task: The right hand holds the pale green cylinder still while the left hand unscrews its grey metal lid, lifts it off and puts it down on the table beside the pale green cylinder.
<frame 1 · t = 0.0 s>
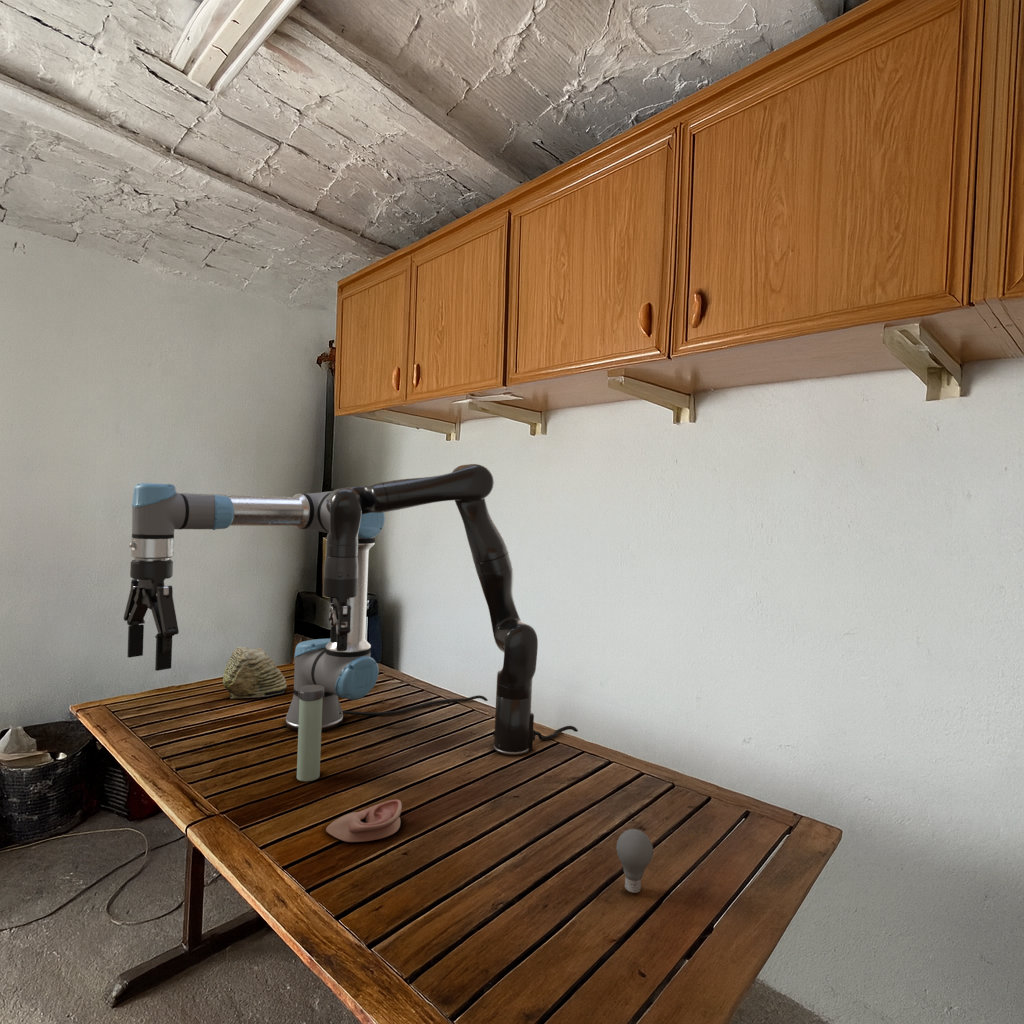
left hand: (148, 662, 129), 28 cm above the table, tool pointing down, fingers open, 13 cm apart
right hand: (338, 646, 145), 29 cm above the table, tool pointing down, fingers open, 8 cm apart
pale green cylinder: (308, 776, 143), on the table
lid: (311, 689, 143), point 20 cm above the table, screwed on, not yet turned
fossil: (254, 694, 198), on the table
light bulb: (632, 891, 106), on the table
anatomical model: (364, 828, 122), on the table
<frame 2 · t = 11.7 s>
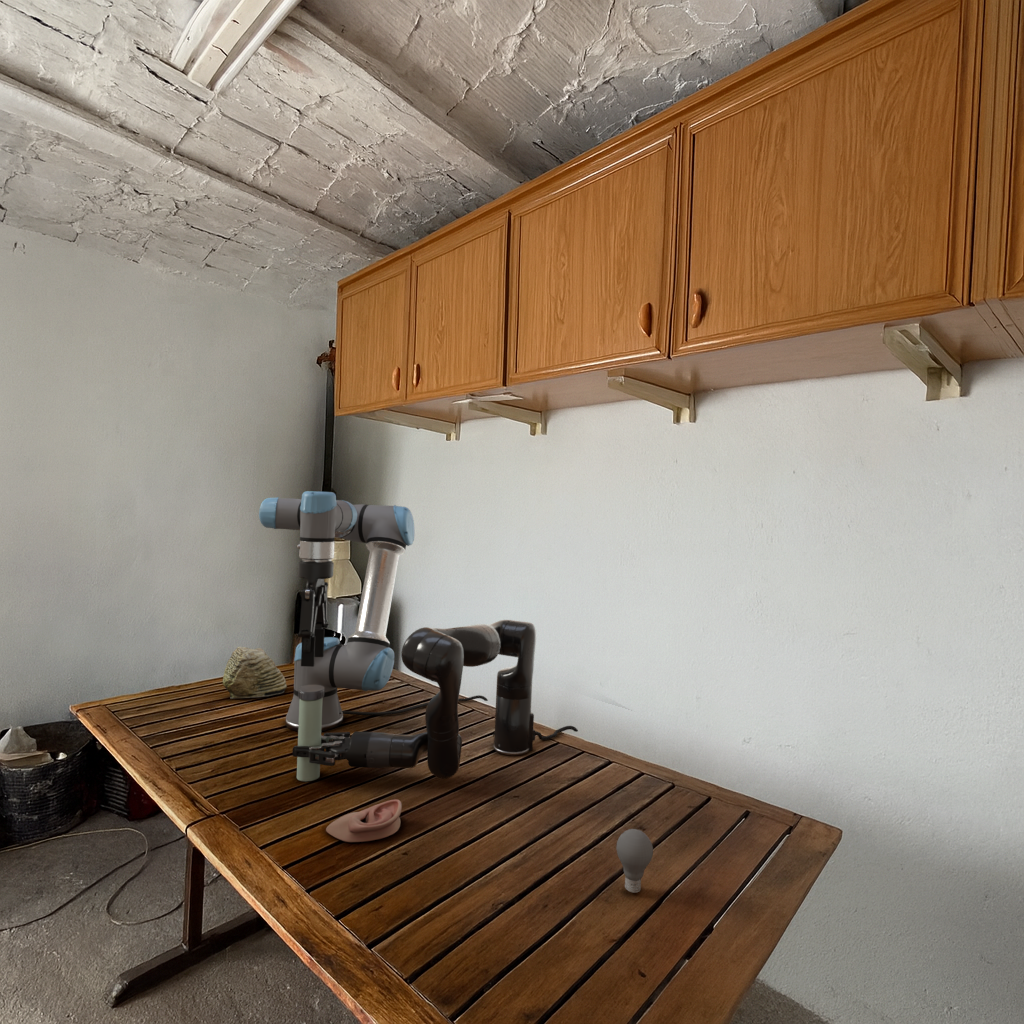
left hand: (312, 661, 143), 26 cm above the table, tool pointing down, fingers open, 7 cm apart
right hand: (297, 746, 143), 7 cm above the table, tool horizontal, fingers closed on pale green cylinder, 5 cm apart
pale green cylinder: (308, 776, 143), on the table, touching right hand
everything else where it was.
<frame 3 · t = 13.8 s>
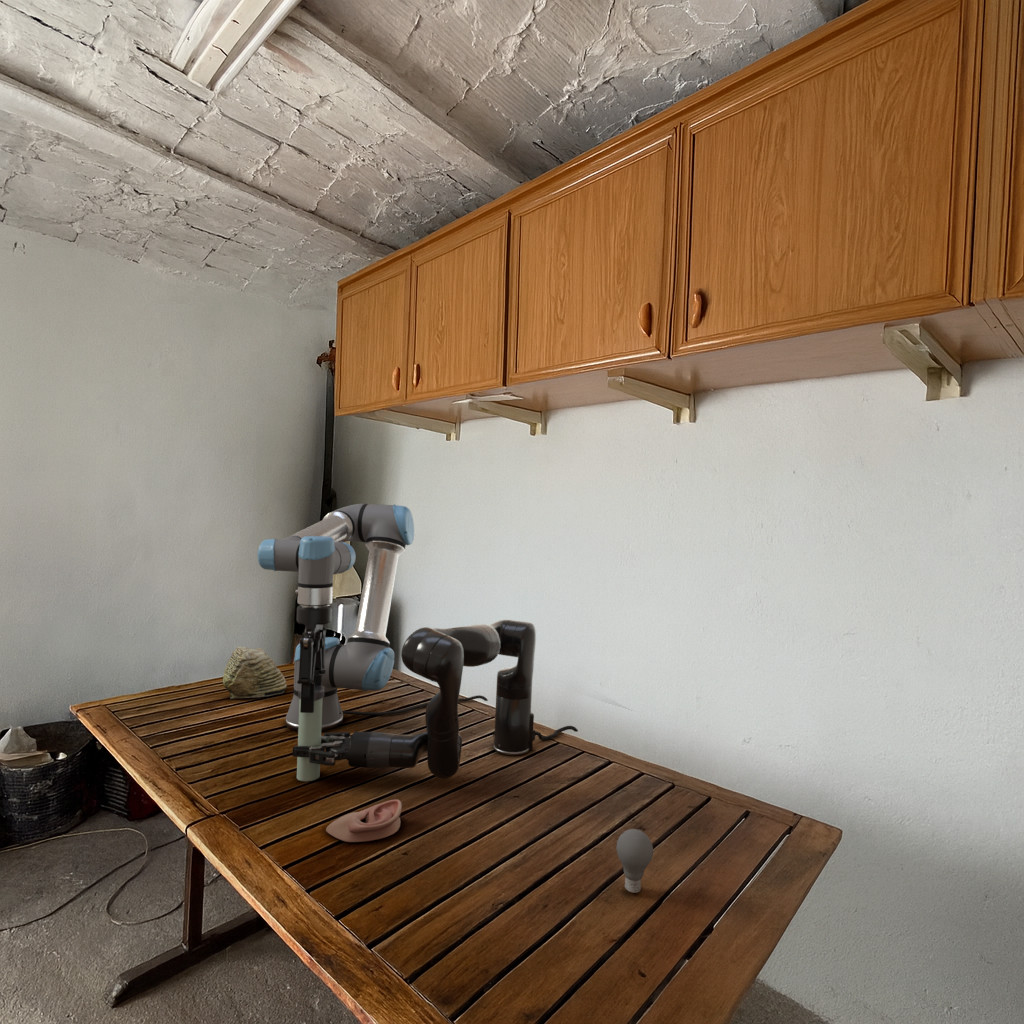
left hand: (310, 707, 143), 16 cm above the table, tool pointing down, fingers closed on lid, 5 cm apart
right hand: (297, 746, 143), 7 cm above the table, tool horizontal, fingers closed on pale green cylinder, 5 cm apart
pale green cylinder: (308, 776, 143), on the table, touching right hand
lid: (311, 689, 143), point 20 cm above the table, screwed on, not yet turned, touching left hand
everything else where it was.
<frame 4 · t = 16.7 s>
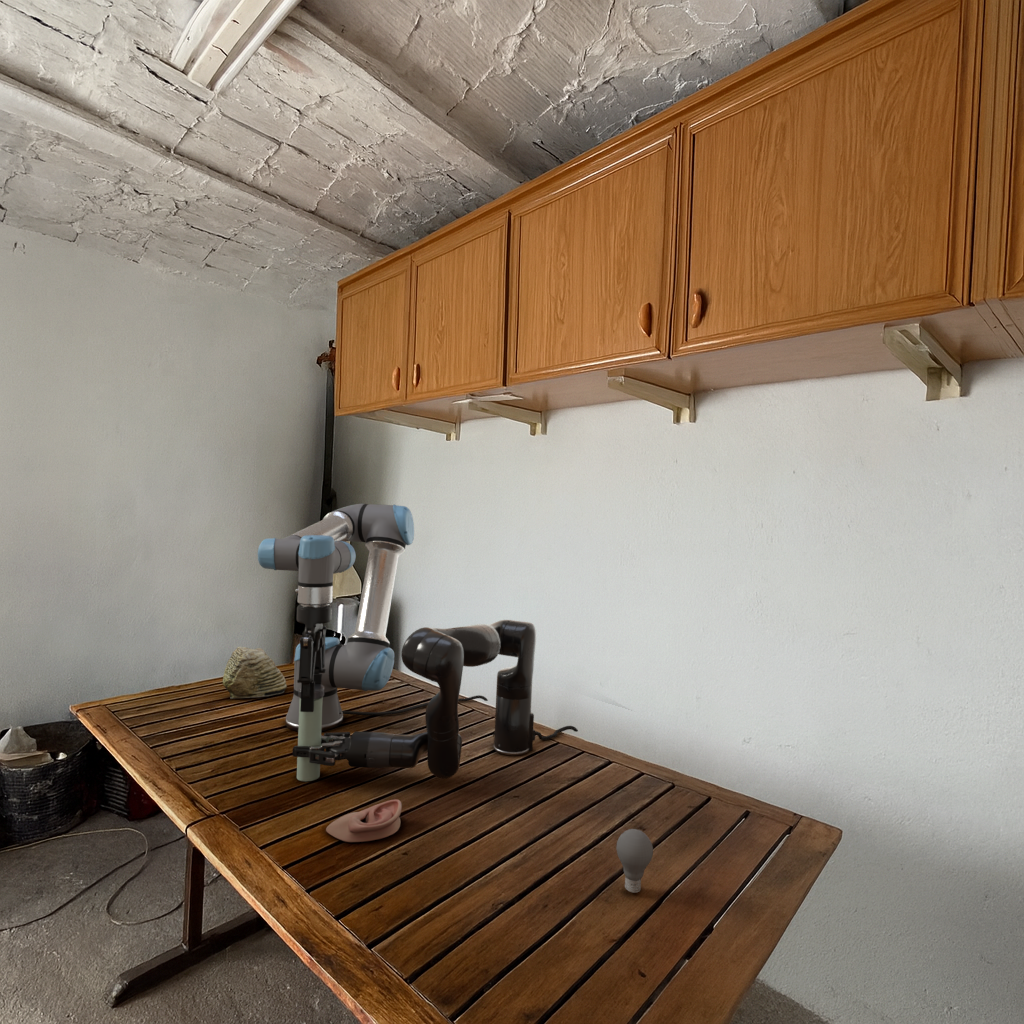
left hand: (310, 706, 143), 16 cm above the table, tool pointing down, fingers closed on lid, 5 cm apart
right hand: (297, 746, 143), 7 cm above the table, tool horizontal, fingers closed on pale green cylinder, 5 cm apart
pale green cylinder: (308, 776, 143), on the table, touching right hand
lid: (311, 688, 143), point 20 cm above the table, turned 61° so far, risen 0.2 cm, still on its thread, touching left hand
everything else where it was.
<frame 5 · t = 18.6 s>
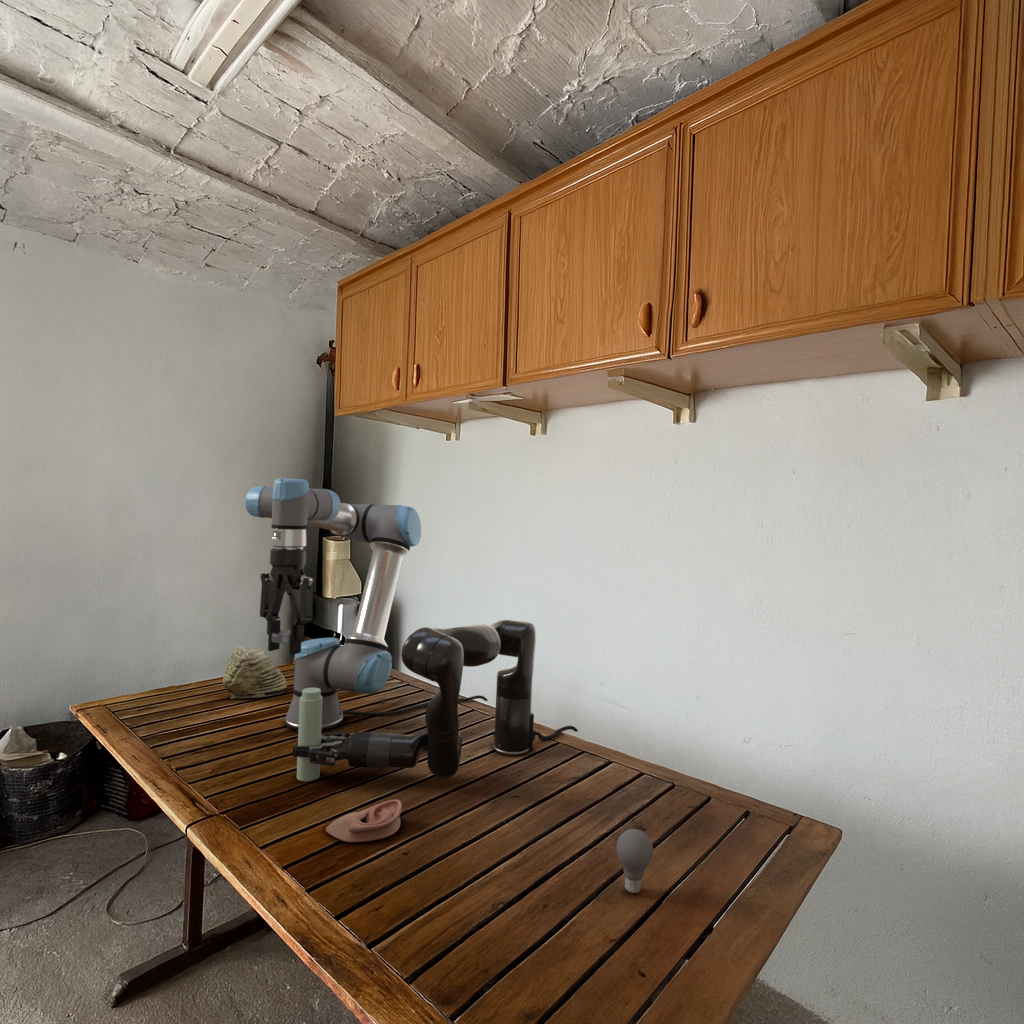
left hand: (284, 651, 141), 28 cm above the table, tool pointing down, fingers closed on lid, 5 cm apart
right hand: (297, 746, 143), 7 cm above the table, tool horizontal, fingers closed on pale green cylinder, 5 cm apart
pale green cylinder: (308, 776, 143), on the table, touching right hand
lid: (285, 633, 141), point 32 cm above the table, off its thread, touching left hand
everything else where it was.
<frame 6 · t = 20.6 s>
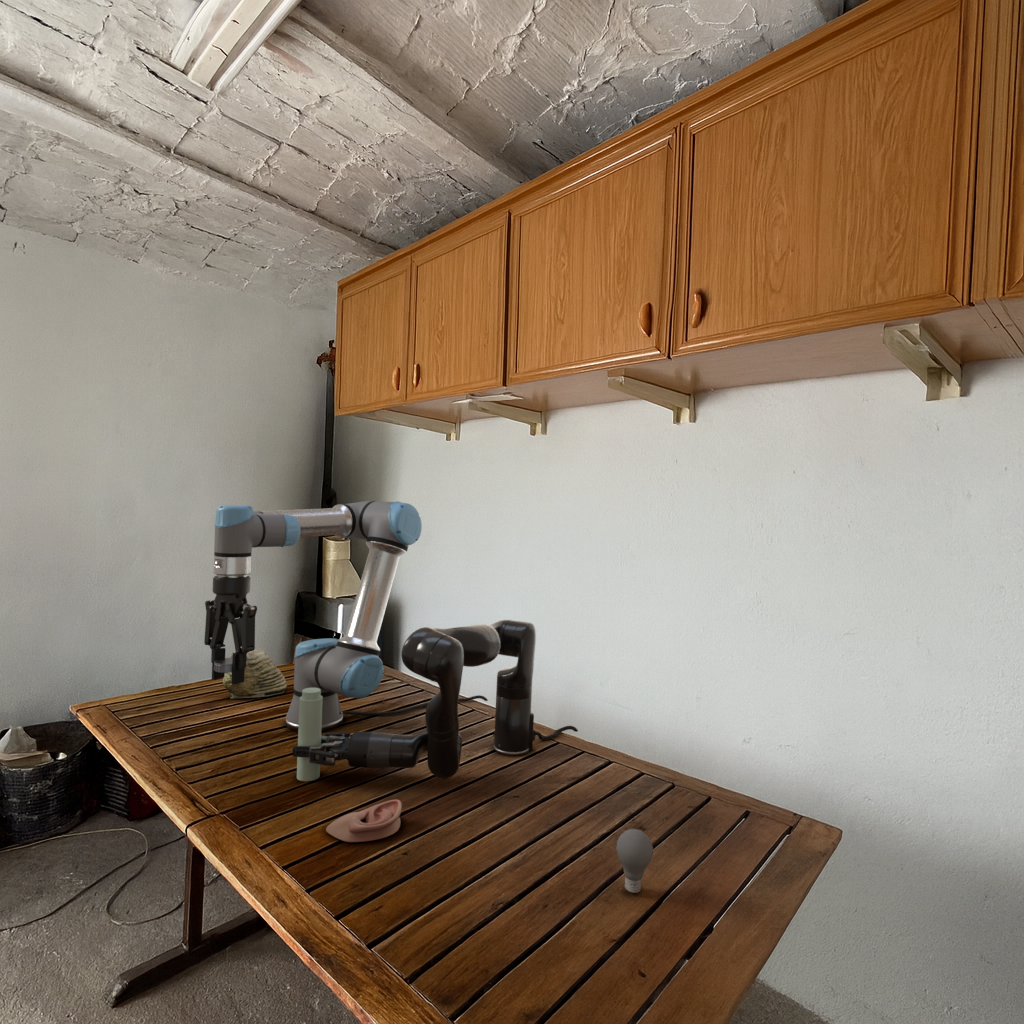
left hand: (227, 680, 139), 22 cm above the table, tool pointing down, fingers closed on lid, 5 cm apart
right hand: (297, 746, 143), 7 cm above the table, tool horizontal, fingers closed on pale green cylinder, 5 cm apart
pale green cylinder: (308, 776, 143), on the table, touching right hand
lid: (228, 662, 139), point 26 cm above the table, off its thread, touching left hand
everything else where it was.
when the left hand's fingers open (0 cm above the table, at t = 24.9 s): lid drops 3 cm, point 2 cm above the table.
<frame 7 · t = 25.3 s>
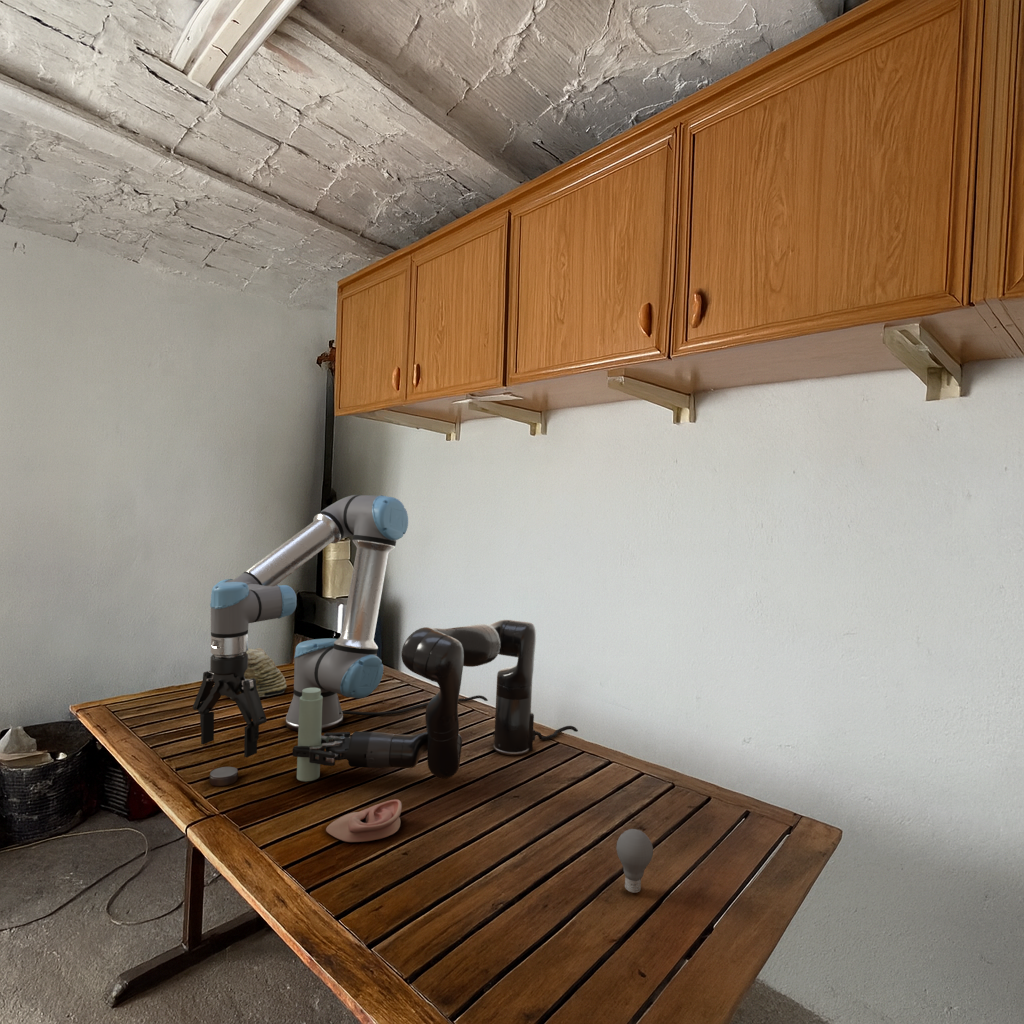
left hand: (228, 748, 140), 7 cm above the table, tool pointing down, fingers open, 13 cm apart
right hand: (297, 746, 143), 7 cm above the table, tool horizontal, fingers closed on pale green cylinder, 5 cm apart
pale green cylinder: (308, 776, 143), on the table, touching right hand
lid: (223, 773, 139), point 2 cm above the table, off its thread
everything else where it was.
when the right hand's fingers open (7 cm above the table, at t = 25.5 s): pale green cylinder stays where it is, on the table.
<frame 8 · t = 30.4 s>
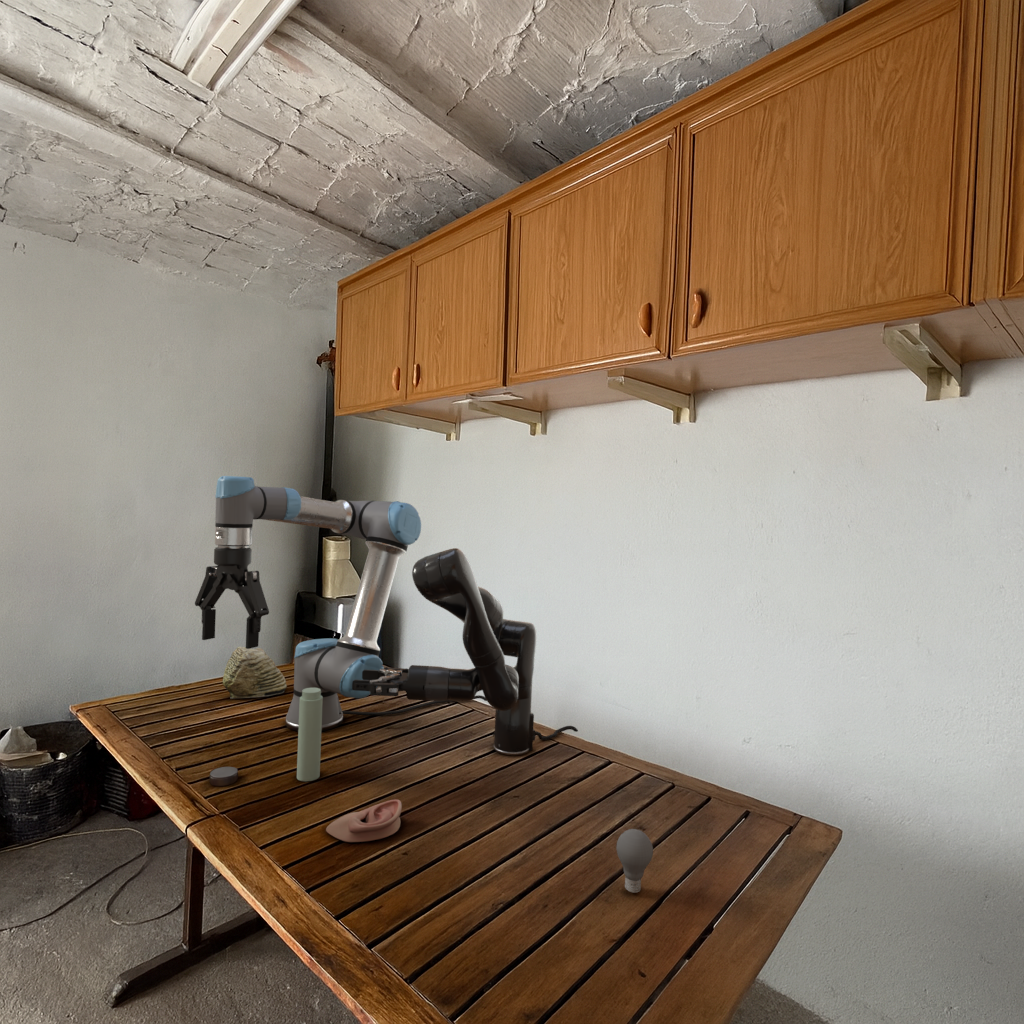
left hand: (229, 643, 139), 30 cm above the table, tool pointing down, fingers open, 13 cm apart
right hand: (357, 679, 142), 23 cm above the table, tool horizontal, fingers open, 8 cm apart
pale green cylinder: (308, 776, 143), on the table
everything else where it was.
at the end: lid came off its thread; lid point 1.6 cm above the table; the left hand is holding nothing; the right hand is holding nothing; pale green cylinder tilted 0°; pale green cylinder moved 0.0 cm from its start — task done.
